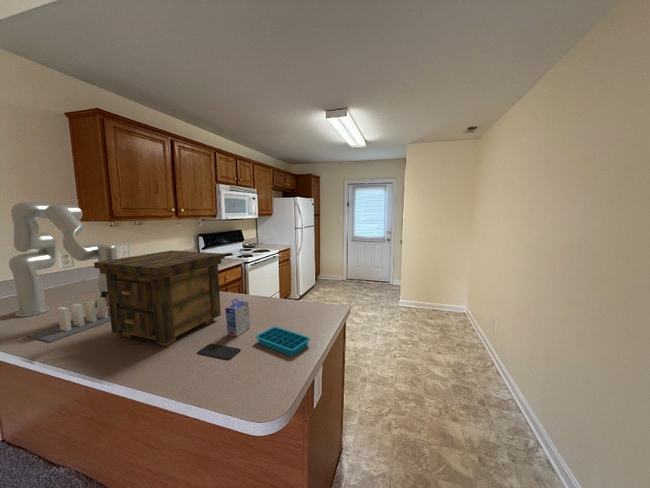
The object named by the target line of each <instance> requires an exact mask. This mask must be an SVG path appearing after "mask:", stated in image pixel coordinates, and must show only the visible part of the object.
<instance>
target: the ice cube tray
mask: <svg viewBox="0 0 650 488" xmlns="http://www.w3.org/2000/svg"><path fill="white" fill-rule="evenodd" d="M255 338H256V339H258V340H257V341H258V344H259V345H262V346H264V347H268V348H270V349H273V350H275V351H277V352H280V353H282V354H285V355H287V356H295V355H296V354H298V353H299V352H301V351H302V350H304V349H305V348H306V347H307V346H308V344H309V341H311V337H309V336H306V335H303V334H299V333H297V332H294V331H291V330H287V329H285V328H282V327H278V326H272V327H271V328H269V329H266V330H265V331H263V332H261V333H259V334H257V335H255Z"/></svg>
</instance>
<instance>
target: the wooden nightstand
mask: <svg viewBox="0 0 650 488" xmlns="http://www.w3.org/2000/svg"><path fill="white" fill-rule="evenodd" d="M225 254H226V253H219V252H204V251H188V250H187V251H184V250H183V251H182V250H166V251H160V252H153V253H146V254H142V255H141V254H140V255H134V256H128V257H126V256H125V257H121V258H117V259H113V260H107V261H101V262H98V261H95V262H93V264H94V267H93V268H94V269H97V270H99V269H100V273H102V274H106V282H107V291H108V300H109V309H110V318H111V321H110V325H111V333H113V334H118V335H119V334H121V335H122V337H126V338H132V337H134V336H135V337H138V338H139V337H140V338H144V339H148V340H154V341H155V343H156V344H157V345H161V346H164V347H167V346H168V345H170V344H173V343H174V342H176V341H177V337H178V336H179V335H181V334H184V333H186V332H188V331H190V330H192V329H193V328H194V329H195V327H197V326H199V325H208V324H211V323H212V322H214V319H216V318H218V317H220V316H221V315H222V313H221V295H220V282H219V281H220V279H219V277H220V276H219V265H220V264H222V260H224V259H225V258H226V256H225Z"/></svg>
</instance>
